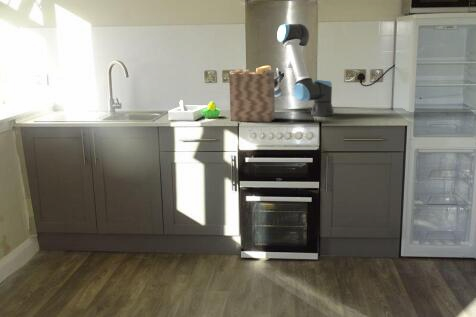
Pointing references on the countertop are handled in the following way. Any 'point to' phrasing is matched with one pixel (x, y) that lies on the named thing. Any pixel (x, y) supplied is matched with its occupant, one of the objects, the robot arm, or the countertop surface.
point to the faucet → (183, 106)
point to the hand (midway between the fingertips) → (266, 69)
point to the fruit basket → (211, 111)
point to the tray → (187, 113)
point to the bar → (263, 69)
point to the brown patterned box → (252, 96)
